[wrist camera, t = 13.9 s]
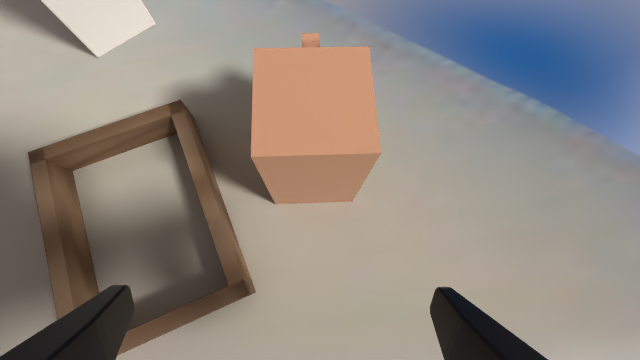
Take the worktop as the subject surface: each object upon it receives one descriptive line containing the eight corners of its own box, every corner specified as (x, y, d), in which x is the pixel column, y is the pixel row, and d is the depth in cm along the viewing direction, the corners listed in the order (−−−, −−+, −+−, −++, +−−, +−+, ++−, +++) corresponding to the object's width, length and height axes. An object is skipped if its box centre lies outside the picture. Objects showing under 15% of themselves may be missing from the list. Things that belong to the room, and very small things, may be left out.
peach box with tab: (352, 201, 23) (381, 153, 14) (275, 204, 23) (250, 157, 14) (345, 107, 26) (365, 11, 16) (275, 109, 26) (254, 12, 16)
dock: (255, 292, 21) (248, 294, 19) (97, 364, 20) (67, 377, 17) (192, 116, 25) (180, 99, 23) (56, 164, 24) (28, 152, 21)
